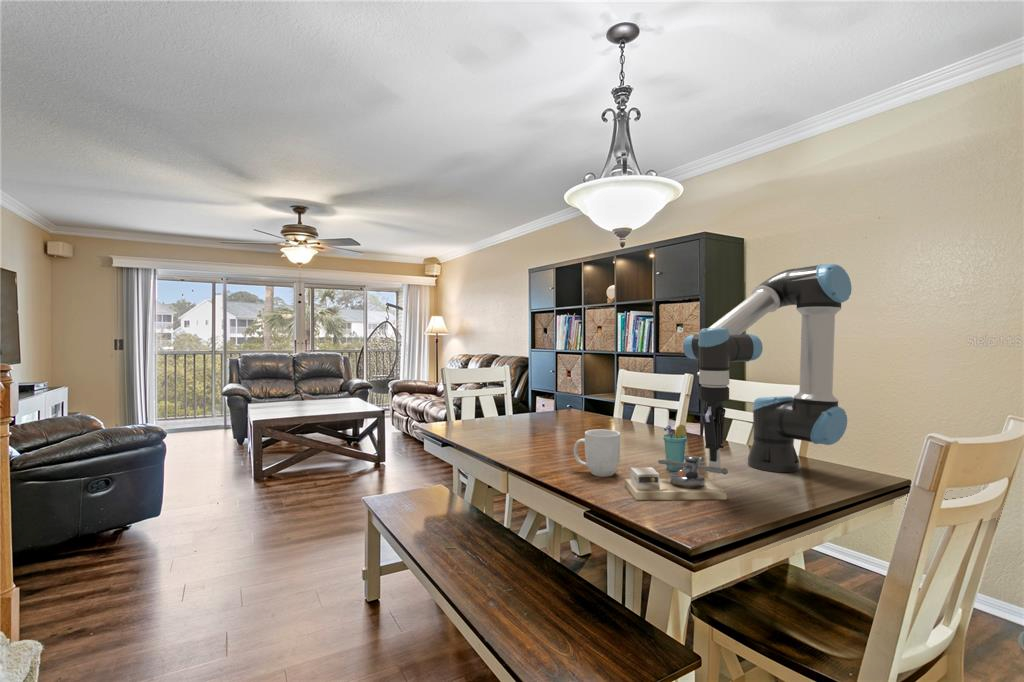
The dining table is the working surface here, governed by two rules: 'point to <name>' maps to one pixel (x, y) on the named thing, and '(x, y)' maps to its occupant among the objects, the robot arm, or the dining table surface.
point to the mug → (600, 451)
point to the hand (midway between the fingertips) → (714, 472)
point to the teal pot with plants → (675, 445)
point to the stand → (667, 487)
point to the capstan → (690, 472)
